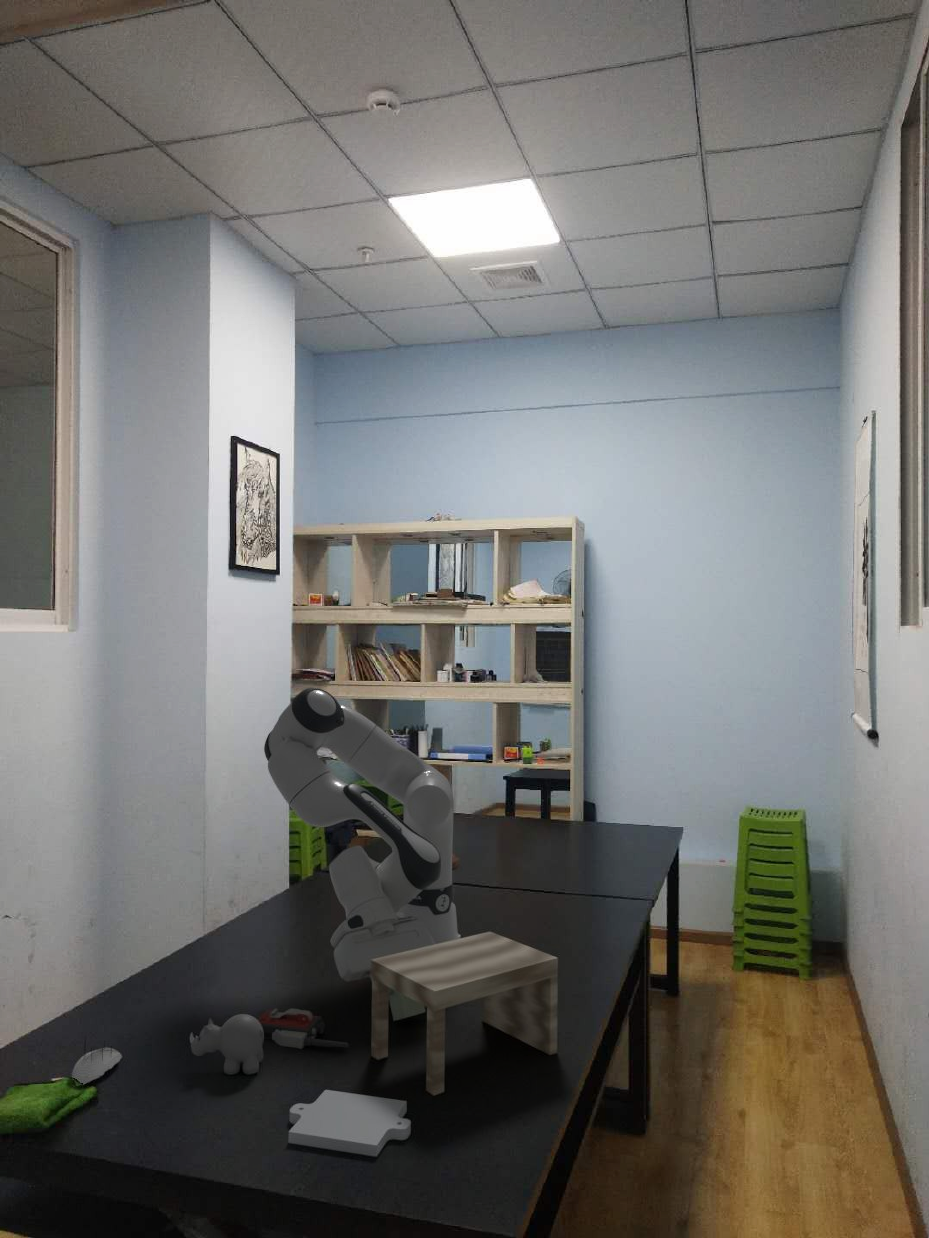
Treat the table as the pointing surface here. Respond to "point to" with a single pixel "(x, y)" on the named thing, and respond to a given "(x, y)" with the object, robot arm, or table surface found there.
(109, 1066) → the pincushion
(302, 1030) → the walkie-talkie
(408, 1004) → the sage wooden block
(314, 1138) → the mounting plate
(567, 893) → the table surface
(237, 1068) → the chubby cartoon animal
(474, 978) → the wood grain stool
